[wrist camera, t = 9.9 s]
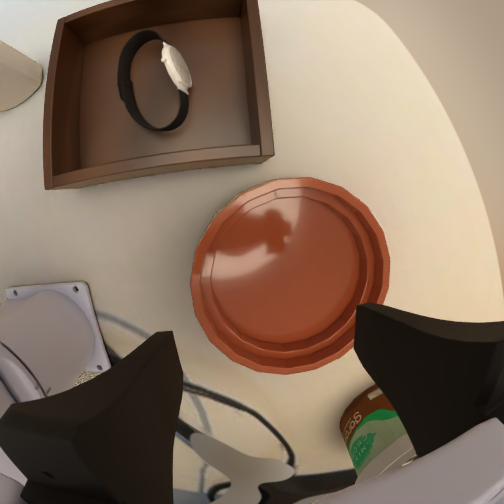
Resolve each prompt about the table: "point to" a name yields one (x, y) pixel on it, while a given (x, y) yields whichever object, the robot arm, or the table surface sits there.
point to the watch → (173, 66)
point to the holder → (155, 92)
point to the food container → (375, 435)
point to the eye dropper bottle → (17, 77)
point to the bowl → (288, 274)
